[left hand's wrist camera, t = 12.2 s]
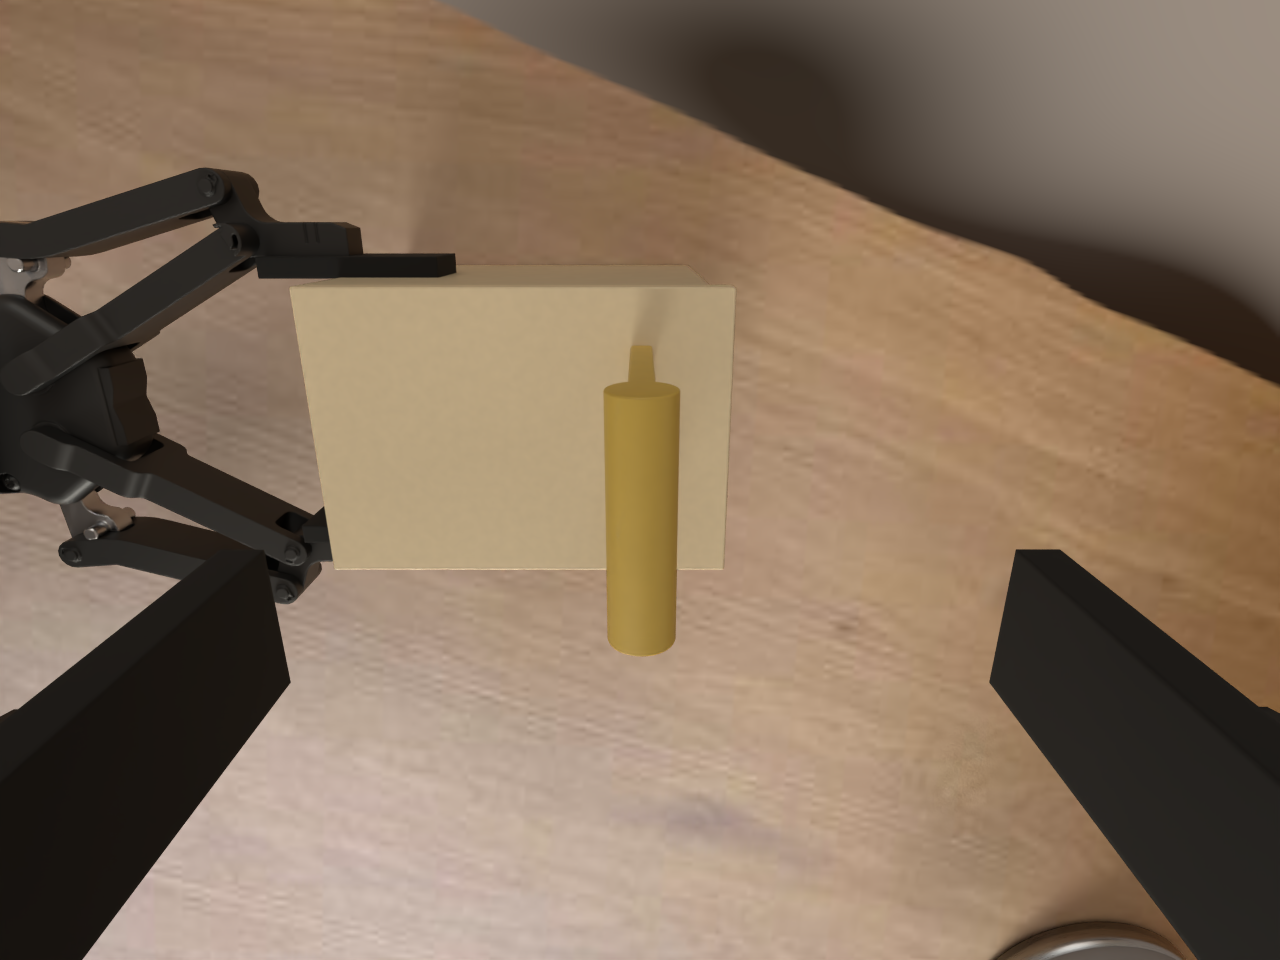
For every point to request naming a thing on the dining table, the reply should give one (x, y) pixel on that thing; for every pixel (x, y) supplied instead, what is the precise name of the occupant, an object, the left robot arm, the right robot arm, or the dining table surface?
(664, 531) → the lid
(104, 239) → the right robot arm
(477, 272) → the chest
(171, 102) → the dining table surface
